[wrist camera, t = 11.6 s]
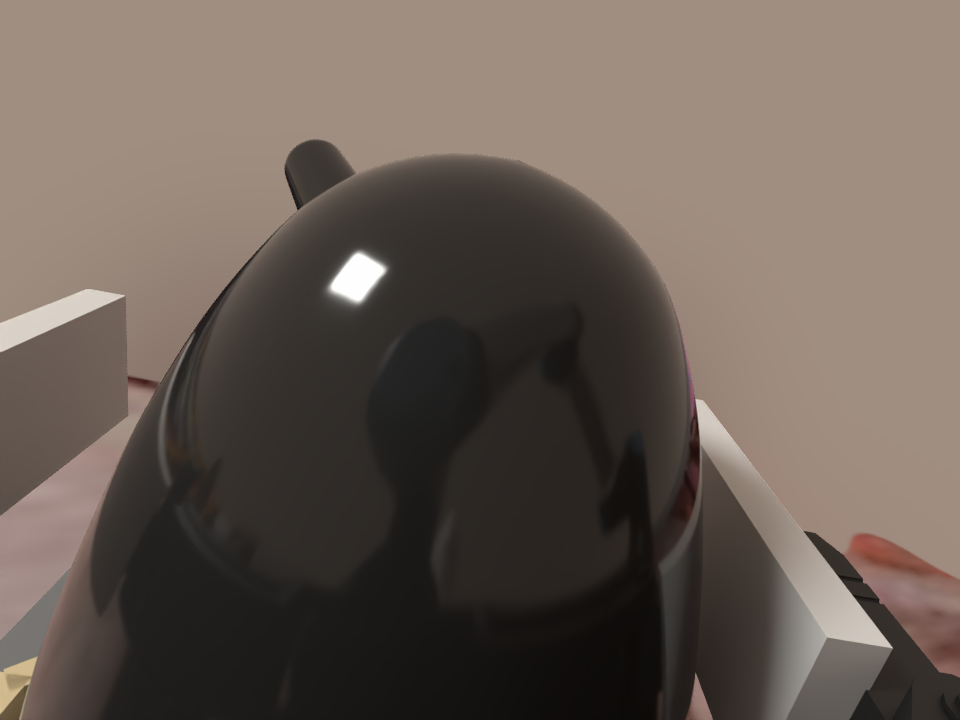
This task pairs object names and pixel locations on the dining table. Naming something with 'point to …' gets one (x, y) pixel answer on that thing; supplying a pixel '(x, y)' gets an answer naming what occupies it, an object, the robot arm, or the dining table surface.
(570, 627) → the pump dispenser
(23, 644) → the dock plate
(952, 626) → the dining table surface
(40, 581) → the dining table surface
